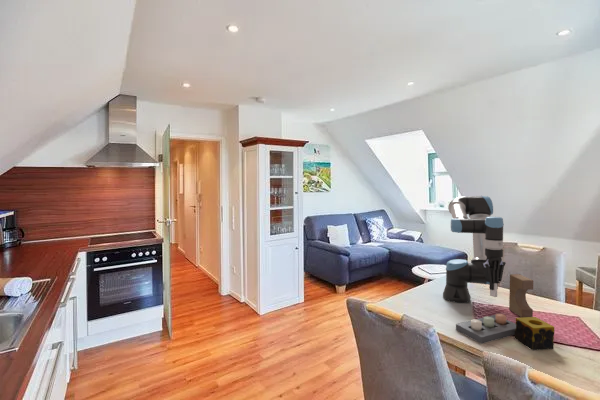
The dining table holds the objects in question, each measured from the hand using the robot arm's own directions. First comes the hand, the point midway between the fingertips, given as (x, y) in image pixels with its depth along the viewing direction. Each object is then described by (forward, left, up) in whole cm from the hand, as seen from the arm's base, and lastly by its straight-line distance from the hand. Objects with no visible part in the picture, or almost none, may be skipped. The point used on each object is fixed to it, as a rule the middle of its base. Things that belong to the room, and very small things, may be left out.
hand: (493, 296), depth 154 cm
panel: (+3, -7, -15) cm, 17 cm away
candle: (+19, +1, -15) cm, 24 cm away
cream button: (+3, -15, -13) cm, 20 cm away
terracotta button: (+3, +1, -13) cm, 13 cm away
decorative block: (-4, +25, -15) cm, 30 cm away
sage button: (+3, -7, -13) cm, 15 cm away
